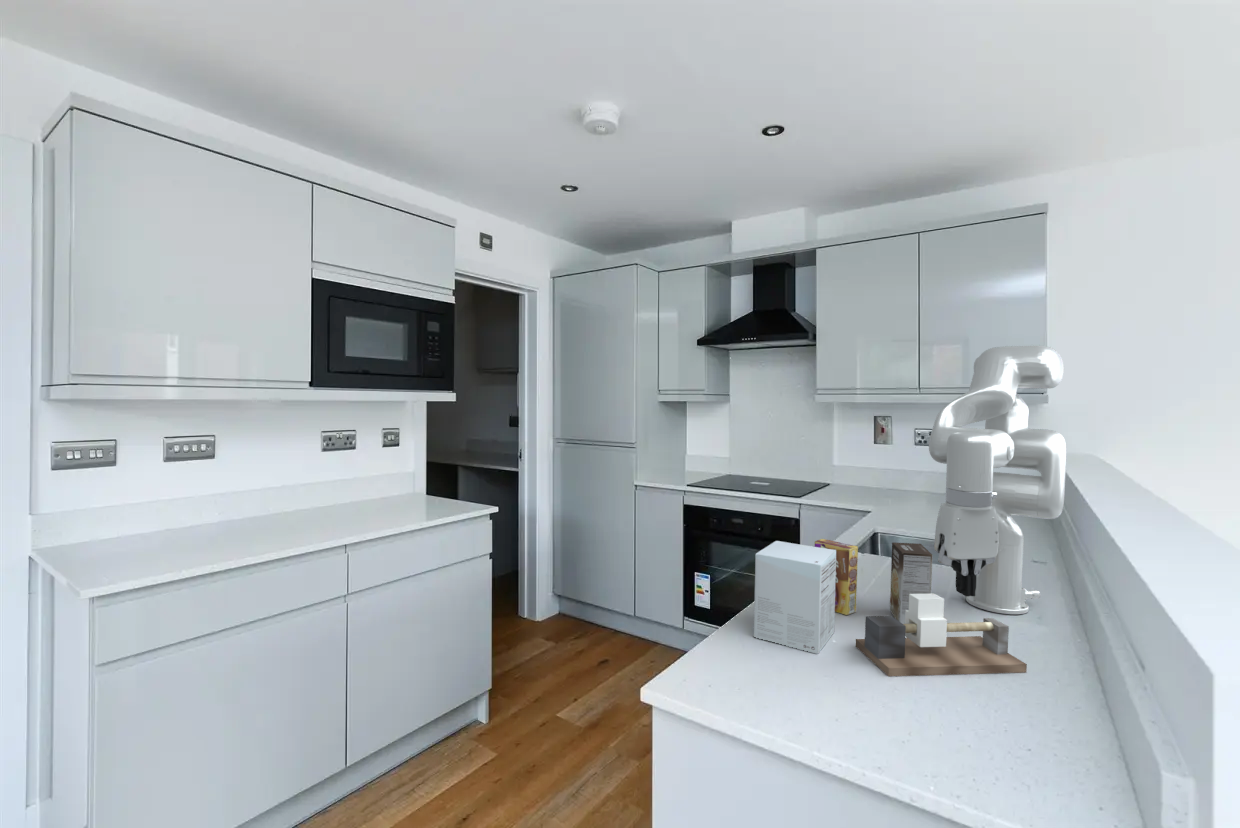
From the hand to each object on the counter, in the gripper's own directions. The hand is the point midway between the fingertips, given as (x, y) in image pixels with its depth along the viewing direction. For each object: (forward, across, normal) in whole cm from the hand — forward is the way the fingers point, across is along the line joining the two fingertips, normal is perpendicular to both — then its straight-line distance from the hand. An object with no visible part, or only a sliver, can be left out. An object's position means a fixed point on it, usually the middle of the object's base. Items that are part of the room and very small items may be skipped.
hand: (965, 593), depth 110 cm
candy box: (+13, +14, -25) cm, 31 cm away
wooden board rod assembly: (+12, +6, +1) cm, 13 cm away
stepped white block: (+9, +8, +1) cm, 12 cm away
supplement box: (+12, +29, -11) cm, 33 cm away
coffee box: (+13, 0, -18) cm, 22 cm away
